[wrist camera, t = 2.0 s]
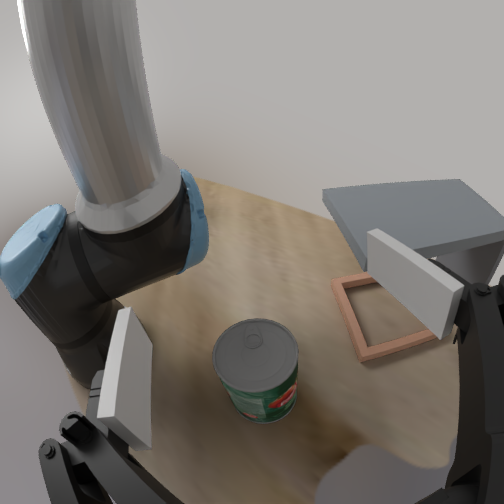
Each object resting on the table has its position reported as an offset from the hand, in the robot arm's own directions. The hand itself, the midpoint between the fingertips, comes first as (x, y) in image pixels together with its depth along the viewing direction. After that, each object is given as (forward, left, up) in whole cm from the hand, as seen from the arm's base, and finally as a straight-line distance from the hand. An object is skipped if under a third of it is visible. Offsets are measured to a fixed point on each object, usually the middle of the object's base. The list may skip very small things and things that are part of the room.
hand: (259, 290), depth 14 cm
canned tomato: (-1, +3, -23) cm, 23 cm away
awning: (+20, +11, -23) cm, 32 cm away
